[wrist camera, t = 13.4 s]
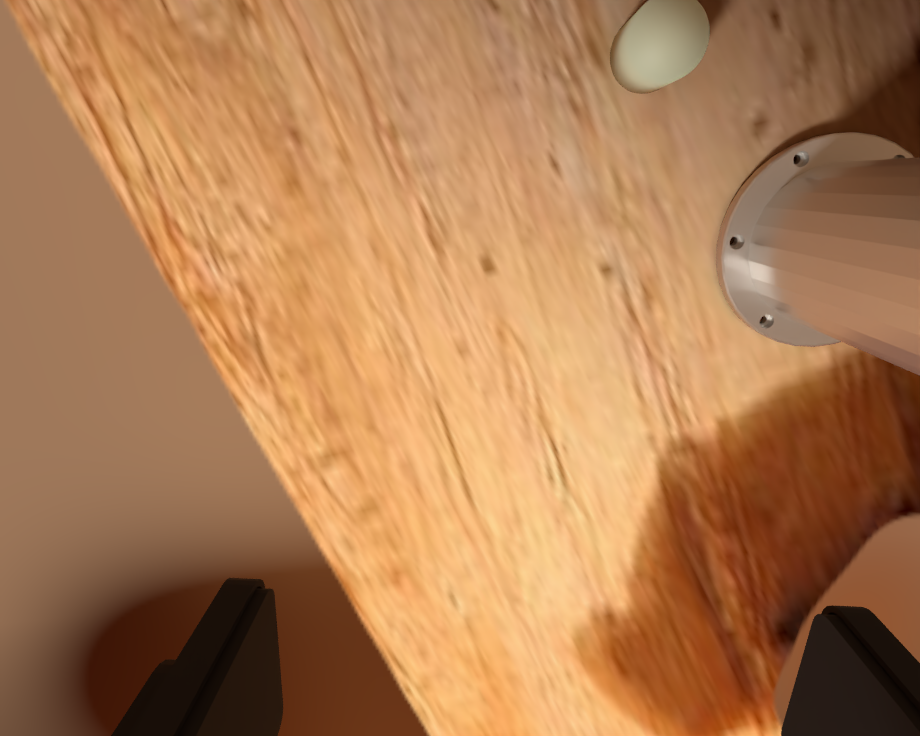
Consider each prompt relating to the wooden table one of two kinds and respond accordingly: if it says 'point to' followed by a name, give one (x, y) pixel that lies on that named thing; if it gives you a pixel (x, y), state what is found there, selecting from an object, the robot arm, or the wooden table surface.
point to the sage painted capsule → (659, 44)
